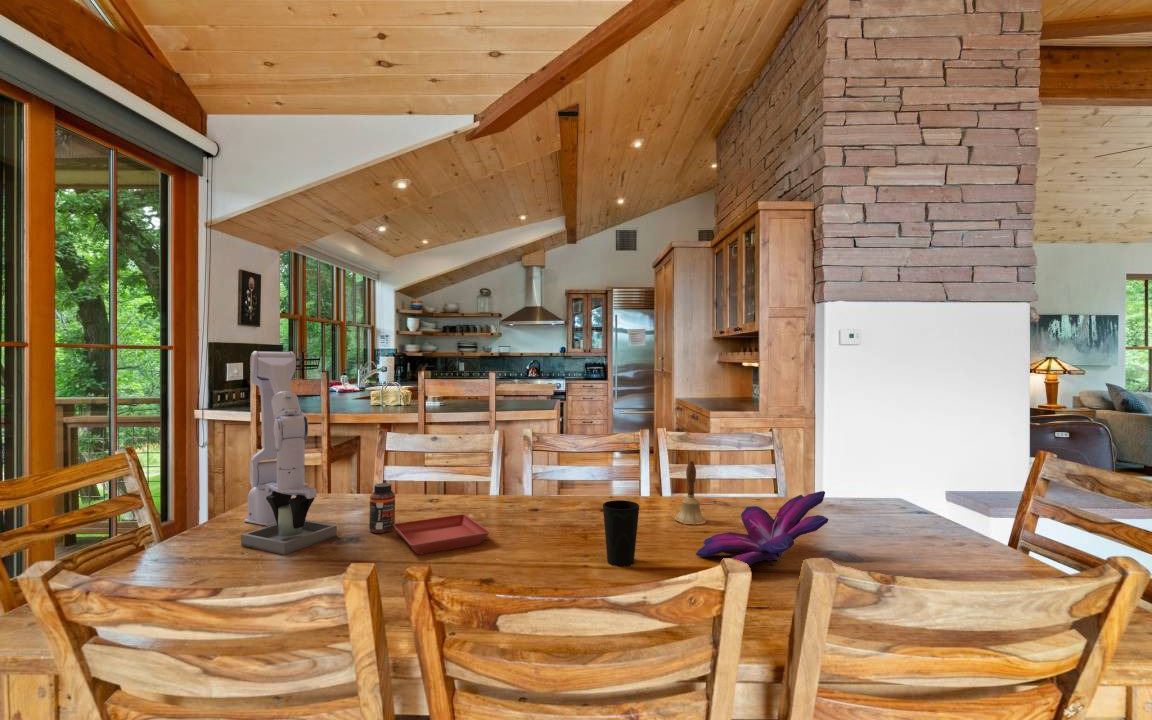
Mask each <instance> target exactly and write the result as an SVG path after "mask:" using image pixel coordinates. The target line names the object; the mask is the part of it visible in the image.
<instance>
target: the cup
mask: <svg viewBox="0 0 1152 720" xmlns="http://www.w3.org/2000/svg"><path fill="white" fill-rule="evenodd" d="M602 511H603V523H604V525H603V526H604V535H605V547H606V559H607V564H608V565H610V564H611V566H613V567H620V568H621V567H622V568H623V567H624V566H626V567H630V566H633V564H634V563H635V554H636V545H637V544H636V543H637V535H638V533H637V532H638V524H639V514H640V513H639V511H640V504H639V503H637V502H634V501H632V500H625V499H624V500H622V499H620V500H618V499H615V500H609V501H605V502H604V503H603V504H602Z"/></svg>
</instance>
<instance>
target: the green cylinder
mask: <svg viewBox="0 0 1152 720" xmlns="http://www.w3.org/2000/svg"><path fill="white" fill-rule="evenodd" d="M300 533H302V527H300V528H297V529H294V527H293V516H292V510H291V507H290V504H289V505H285V506H281V507H279V508H278V535H279V536H294V535H298V534H300Z"/></svg>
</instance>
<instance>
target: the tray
mask: <svg viewBox="0 0 1152 720" xmlns="http://www.w3.org/2000/svg"><path fill="white" fill-rule="evenodd" d="M337 531H338V526H337V524H336V525H335V524H328V523H323V522H318V521H313V520H312V521H311V520H308V519H305V523H304V526H303V527H302V533H300V534H298V535H294V536H279V535H278V525H277V524H274V525H270V526H265V527H262V528H258V529H255V530H251V531H248V532H245V533H242V534H240V546H241V545H242V547H245V546H246V547H245V548H250V547H251V548H250V549H255V550H260V551H265V552H270V553H275V554H278V555H284V556H285V555H288V554H291V553H293V552H296V551H299V550H302V549H304V548H307V547H310V546H313V545H316V544H319V543H321V542H324V541H327V540H329V539H333V538H336V537H337V536H338V532H337Z"/></svg>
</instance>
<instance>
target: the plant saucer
mask: <svg viewBox="0 0 1152 720" xmlns="http://www.w3.org/2000/svg"><path fill="white" fill-rule="evenodd" d="M393 526H394V530H396V533H398V534H399V536H400V537H401V538H402V539H403V540H404V541H405V542H406V544H407V545H408V546H409V547H410V549H412V551H413V552H414V553H415V554H416V553H417V554H416V555H422V554H421V553H425V554H429V553H428V552H430V553H435V551H436V552H441V550H442V551H446V550H452V549H458V548H464V547H470V546H475V545H480V544H481V543H482V541H484V540H485V539H486V537H487V536H488V535H489V534H490V530H488V529H487V528H485V527H484V526H482V525H481V524H480V523H479V522H477V521H475V520H474V519H473V518H471V517H469V516H468V515H467V514H463V513H461V514H454V515H448V516H447V515H446V516H440V517H433V518H426V519H419V520H413V521H412V520H411V521H404V522H398V523H395V524H394V525H393Z"/></svg>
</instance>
